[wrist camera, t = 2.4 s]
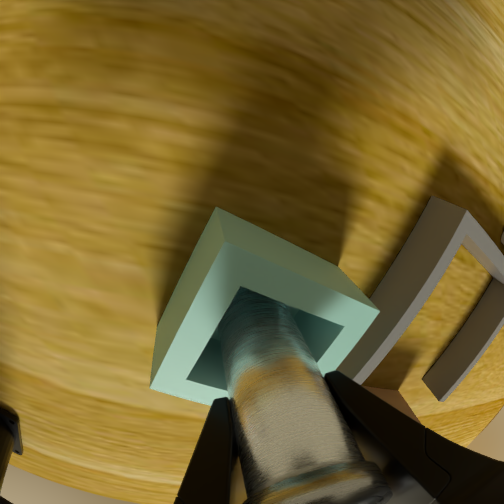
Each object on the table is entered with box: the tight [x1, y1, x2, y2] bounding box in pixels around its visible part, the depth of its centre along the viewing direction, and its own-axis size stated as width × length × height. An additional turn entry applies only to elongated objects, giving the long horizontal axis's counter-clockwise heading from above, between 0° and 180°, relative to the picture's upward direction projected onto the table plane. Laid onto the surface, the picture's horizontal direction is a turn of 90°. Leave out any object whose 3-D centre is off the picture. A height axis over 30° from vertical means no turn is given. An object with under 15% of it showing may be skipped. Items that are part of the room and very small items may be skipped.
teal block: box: [150, 207, 380, 406], centre depth 12 cm, size 6×6×4 cm
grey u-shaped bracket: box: [336, 196, 504, 402], centre depth 15 cm, size 10×11×2 cm
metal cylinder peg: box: [218, 286, 393, 504], centre depth 8 cm, size 3×3×9 cm
